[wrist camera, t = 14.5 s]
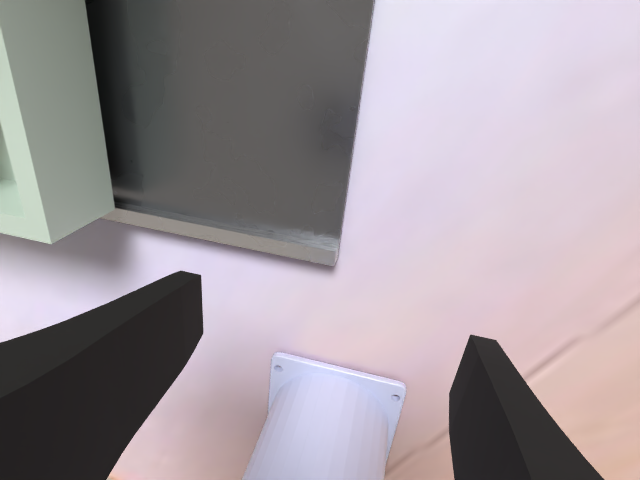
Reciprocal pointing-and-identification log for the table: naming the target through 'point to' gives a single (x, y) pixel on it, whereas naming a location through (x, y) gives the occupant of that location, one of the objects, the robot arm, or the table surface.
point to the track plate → (232, 117)
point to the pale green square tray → (49, 122)
